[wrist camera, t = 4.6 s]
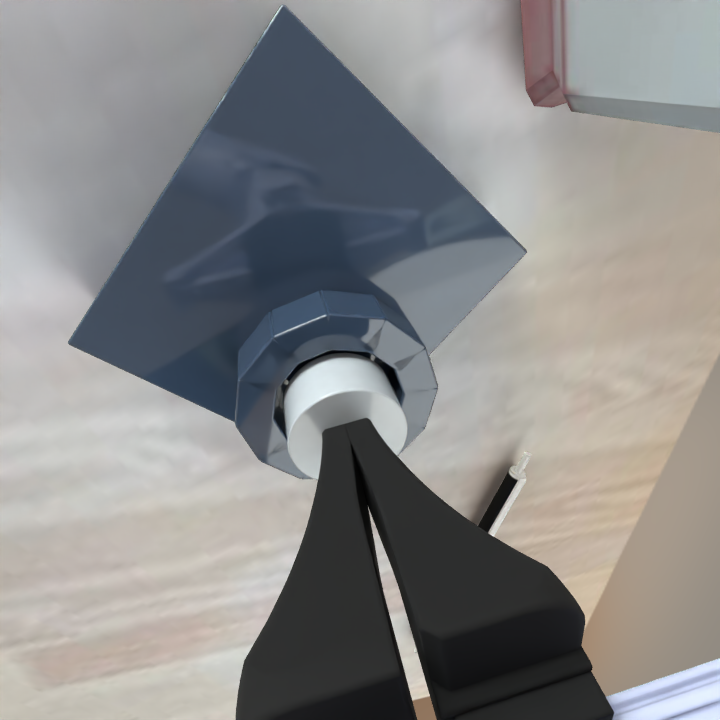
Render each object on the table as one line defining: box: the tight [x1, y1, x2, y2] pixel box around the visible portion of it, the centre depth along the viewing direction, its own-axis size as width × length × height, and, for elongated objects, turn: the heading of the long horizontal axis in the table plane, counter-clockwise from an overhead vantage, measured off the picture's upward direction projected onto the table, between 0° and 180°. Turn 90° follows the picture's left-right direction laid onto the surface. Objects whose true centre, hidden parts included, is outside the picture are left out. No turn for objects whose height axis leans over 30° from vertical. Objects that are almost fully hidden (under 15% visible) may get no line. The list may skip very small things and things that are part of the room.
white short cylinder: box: [283, 353, 408, 480], centre depth 15 cm, size 4×4×2 cm
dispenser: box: [68, 4, 527, 479], centre depth 16 cm, size 11×11×5 cm
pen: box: [414, 451, 531, 653], centre depth 29 cm, size 1×19×1 cm, turn 164°
